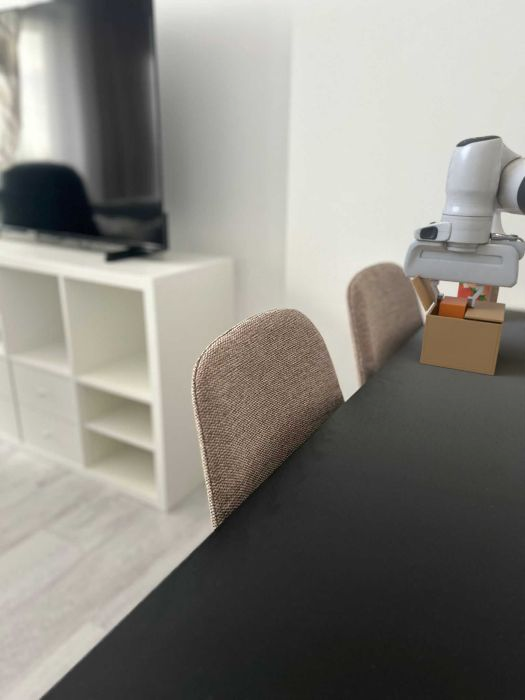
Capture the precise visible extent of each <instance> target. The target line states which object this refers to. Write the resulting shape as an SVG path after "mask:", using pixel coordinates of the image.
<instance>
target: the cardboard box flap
mask: <svg viewBox="0 0 525 700" xmlns="http://www.w3.org/2000/svg"><path fill="white" fill-rule="evenodd" d="M411 283H412V285H413V287H414V289H415V292H416V294H417V296H418V298H419V300H420V303H421V306H422V308H423V309H424V312H429V310H430V309H431V308H432V306H433V305H434V299H435V294H434V292H433V290H432V288H431V286H430V283H431V280H430V279H420V277H419V275H417V276H416V277H415V278H412V279H411Z"/></svg>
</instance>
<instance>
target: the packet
mask: <svg viewBox="0 0 525 700" xmlns="http://www.w3.org/2000/svg"><path fill="white" fill-rule="evenodd" d="M466 305H467V298H460V297H457V296H452V295H444V297H443V300H442V301H441V303H440V307H439V314H438V316H442V317H450V318H458V319H464V317H465V314H466V311H467V307H466Z"/></svg>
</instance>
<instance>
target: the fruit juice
mask: <svg viewBox="0 0 525 700" xmlns="http://www.w3.org/2000/svg"><path fill="white" fill-rule="evenodd" d="M501 214H502V212H499V211H496V210H495V211H494V218H493V224H492V230H491V233H497V234H505V235H507V234H506V232H505V230H504V227H503V224H502V223H503V222H502V215H501ZM490 240H491V239H490ZM506 241H508V240H506ZM477 291H478V290H476V284H469V283H459V282H458V289H457V294H456V297H460V298H468V296H469V297H473V296H474V294H475V293H476V292H477ZM499 292H500V287H498V286H489V285H485V286H484V290H483V292H482V293H481V294H480V295H479V297H478V298H477V299H476V300H477V301H486V302H495V303H498V298H499Z"/></svg>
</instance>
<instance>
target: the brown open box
mask: <svg viewBox="0 0 525 700" xmlns="http://www.w3.org/2000/svg"><path fill="white" fill-rule="evenodd" d="M439 307H440V304H438V303H434V302H433V304H432V305H431V307H430V308H429V309H428V311H427V313H426V315H425V319H424V320H425V321H424V328H423V335H422V343H421V351H420V358H419V364H421V365H422V364H423V365H428V366H434V367H440V368H446V369H450V370H451V369H452V370H458V371H465V372H469V373H470V372H471V373H476V374H482V375H488V376H493V377H495V371H496V367H497V366H496V365H497V361H498V355H499V350H500V344H501V339H502V333H503V328H504V321H505V313H506V303H503V302H497V303H495V302H486V301H477V300H476V302H475V307H474V308H471V307H467V311H466V314H465V317H464V319H458V318H450V317H442V316H438V314H439Z"/></svg>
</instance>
